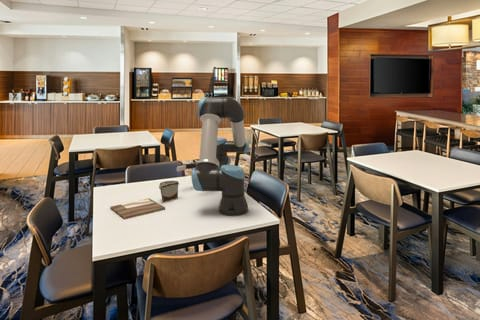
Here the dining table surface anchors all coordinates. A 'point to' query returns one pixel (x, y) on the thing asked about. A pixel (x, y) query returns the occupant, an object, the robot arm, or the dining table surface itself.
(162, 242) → the dining table surface
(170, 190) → the food container
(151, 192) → the dining table surface
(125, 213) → the board
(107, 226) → the dining table surface
